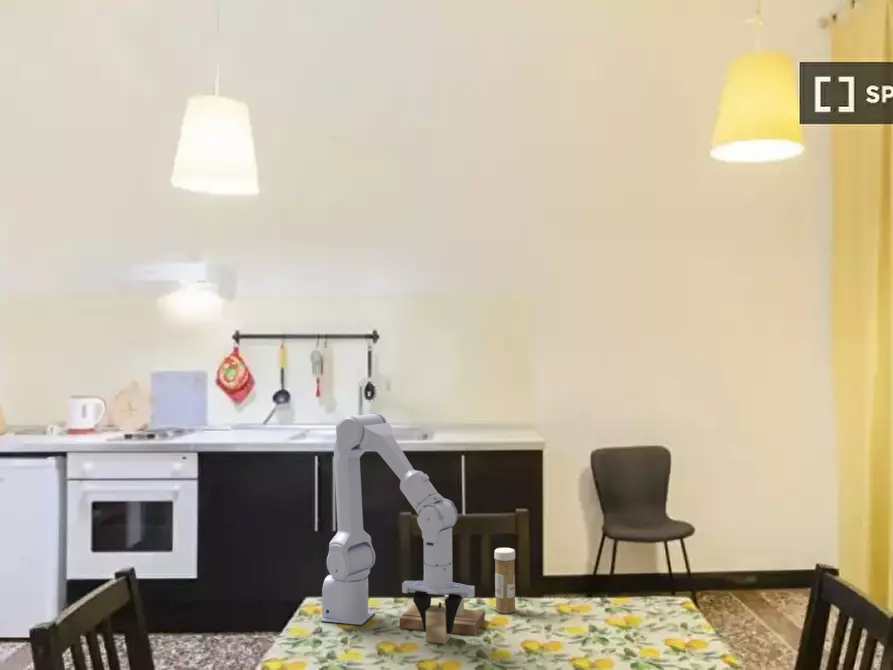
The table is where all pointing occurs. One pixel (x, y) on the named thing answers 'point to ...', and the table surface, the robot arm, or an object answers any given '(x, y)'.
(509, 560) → the sprinkles bottle
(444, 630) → the block
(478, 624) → the plank
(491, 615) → the table surface
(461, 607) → the offcut block
